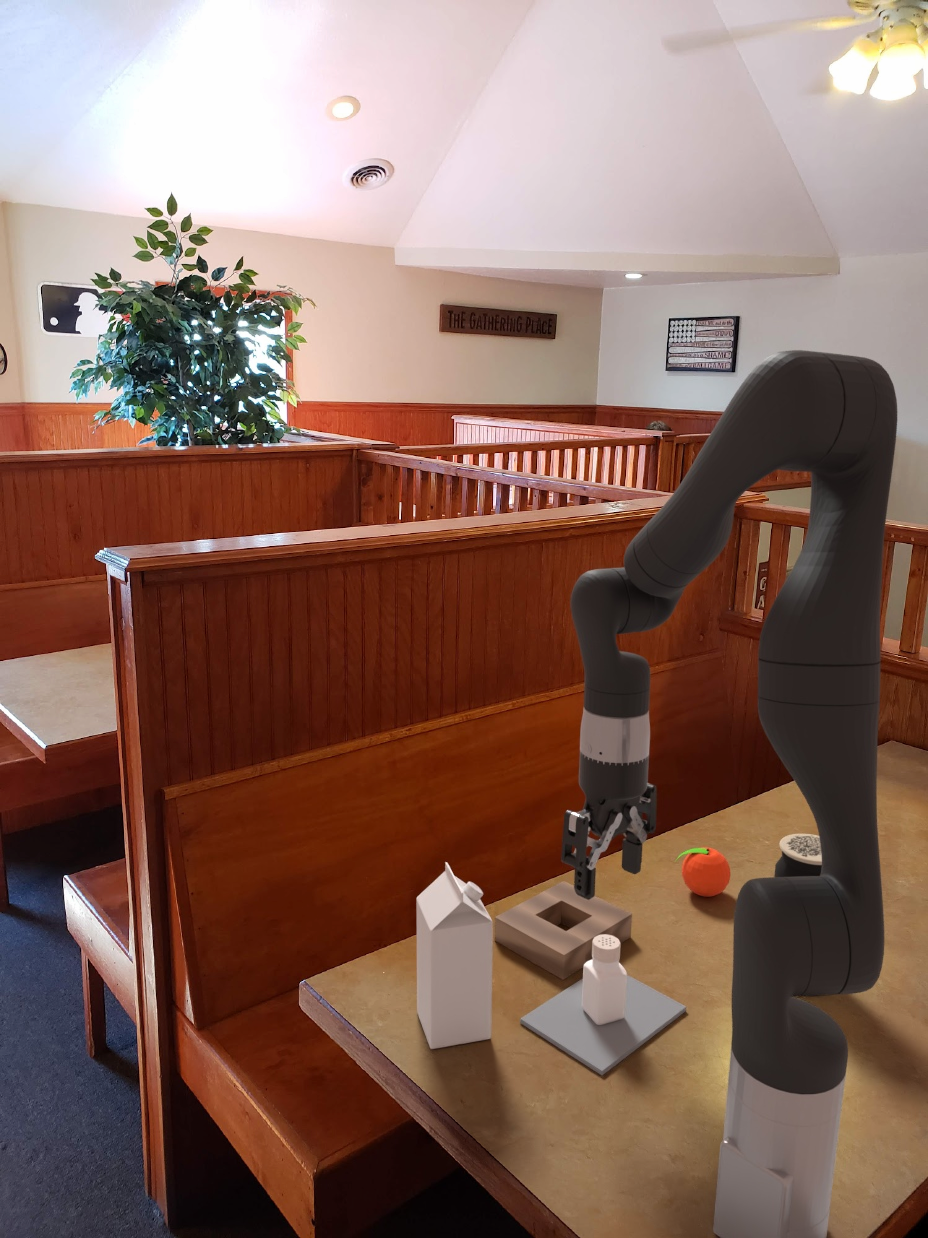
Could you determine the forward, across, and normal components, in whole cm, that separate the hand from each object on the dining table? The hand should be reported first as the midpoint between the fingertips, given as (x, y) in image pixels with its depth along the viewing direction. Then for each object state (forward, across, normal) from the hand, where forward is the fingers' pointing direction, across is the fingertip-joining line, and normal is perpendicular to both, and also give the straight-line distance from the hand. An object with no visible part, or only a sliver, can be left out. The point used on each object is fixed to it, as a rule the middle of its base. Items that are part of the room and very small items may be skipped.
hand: (608, 883), depth 108 cm
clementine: (+17, +34, +8) cm, 39 cm away
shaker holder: (+17, +10, +14) cm, 24 cm away
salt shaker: (+17, 0, 0) cm, 17 cm away
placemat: (+17, 0, 0) cm, 17 cm away
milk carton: (+18, -13, +11) cm, 25 cm away
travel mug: (+18, +24, -12) cm, 32 cm away
